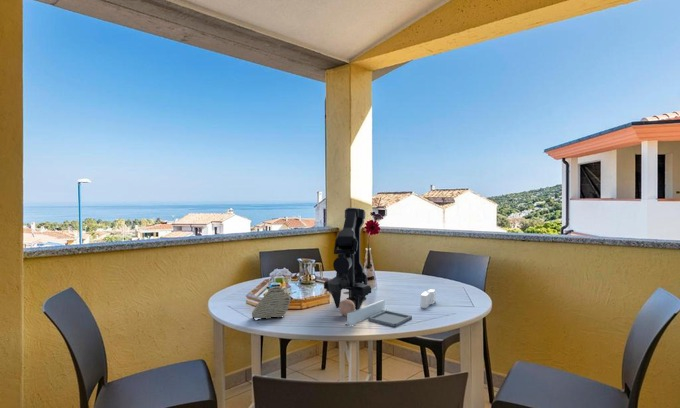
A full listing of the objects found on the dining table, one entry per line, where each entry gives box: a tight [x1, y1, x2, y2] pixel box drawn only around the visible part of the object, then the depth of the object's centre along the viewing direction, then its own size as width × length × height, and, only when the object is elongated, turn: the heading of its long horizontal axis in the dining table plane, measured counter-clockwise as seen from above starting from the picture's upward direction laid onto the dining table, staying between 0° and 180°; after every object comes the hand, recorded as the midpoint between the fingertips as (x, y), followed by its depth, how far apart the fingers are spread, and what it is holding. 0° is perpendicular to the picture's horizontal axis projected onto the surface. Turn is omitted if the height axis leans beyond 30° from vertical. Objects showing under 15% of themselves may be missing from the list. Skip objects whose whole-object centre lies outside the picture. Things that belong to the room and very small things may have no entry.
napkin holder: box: [420, 288, 436, 309], centre depth 146 cm, size 15×11×6 cm
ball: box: [338, 298, 355, 317], centre depth 132 cm, size 6×6×6 cm
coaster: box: [367, 310, 413, 328], centre depth 127 cm, size 11×11×1 cm
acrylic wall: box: [344, 299, 388, 327], centre depth 130 cm, size 3×22×4 cm, turn 140°
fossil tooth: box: [251, 285, 292, 319], centre depth 132 cm, size 12×6×15 cm
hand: (347, 310), depth 132 cm, fingers open, 9 cm apart
